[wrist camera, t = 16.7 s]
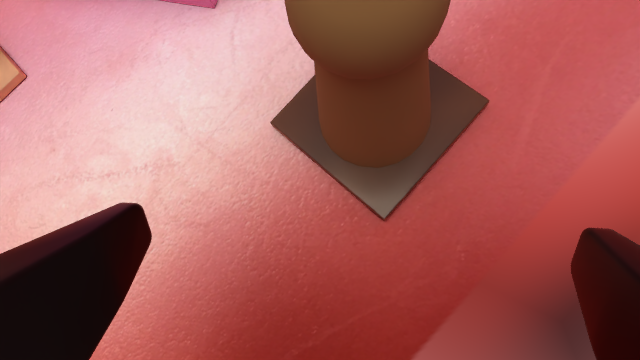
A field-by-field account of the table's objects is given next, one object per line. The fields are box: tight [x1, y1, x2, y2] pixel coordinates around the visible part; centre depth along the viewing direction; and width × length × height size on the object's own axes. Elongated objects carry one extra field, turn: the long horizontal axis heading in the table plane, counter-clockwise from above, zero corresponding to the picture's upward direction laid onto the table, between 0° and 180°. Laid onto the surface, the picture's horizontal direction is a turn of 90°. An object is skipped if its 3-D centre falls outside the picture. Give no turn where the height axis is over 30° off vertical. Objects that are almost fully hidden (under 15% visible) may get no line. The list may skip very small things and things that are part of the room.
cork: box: [285, 0, 450, 168], centre depth 16 cm, size 6×6×11 cm
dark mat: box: [271, 59, 489, 221], centre depth 22 cm, size 8×8×1 cm
